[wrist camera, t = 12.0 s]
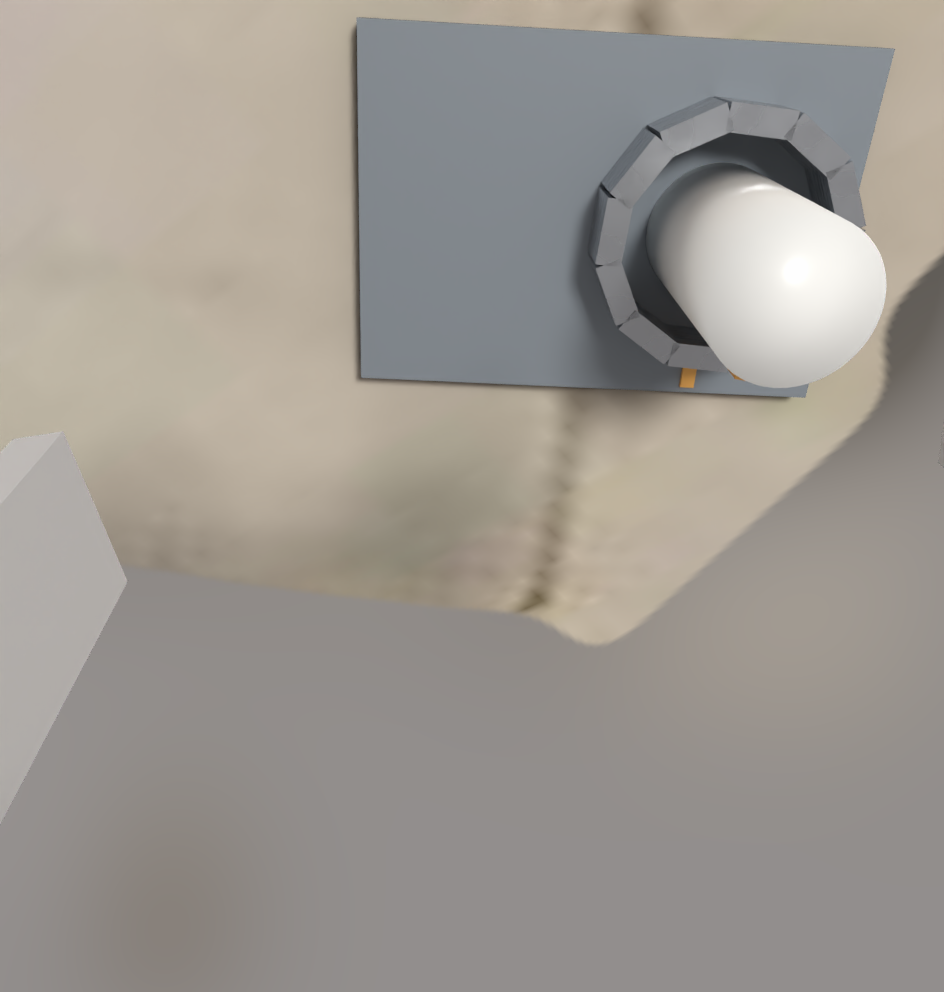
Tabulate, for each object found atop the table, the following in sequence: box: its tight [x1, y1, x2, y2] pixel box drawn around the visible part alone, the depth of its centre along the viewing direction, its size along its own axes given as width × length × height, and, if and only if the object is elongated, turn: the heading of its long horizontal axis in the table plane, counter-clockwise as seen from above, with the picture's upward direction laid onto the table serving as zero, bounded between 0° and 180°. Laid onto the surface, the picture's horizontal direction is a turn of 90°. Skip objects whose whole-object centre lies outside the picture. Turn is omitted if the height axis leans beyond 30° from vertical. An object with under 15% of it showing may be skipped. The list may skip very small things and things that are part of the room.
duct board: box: [357, 17, 895, 398], centre depth 36 cm, size 20×14×1 cm
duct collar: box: [587, 96, 866, 373], centre depth 34 cm, size 10×10×2 cm
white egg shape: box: [646, 162, 886, 388], centre depth 31 cm, size 6×6×10 cm
